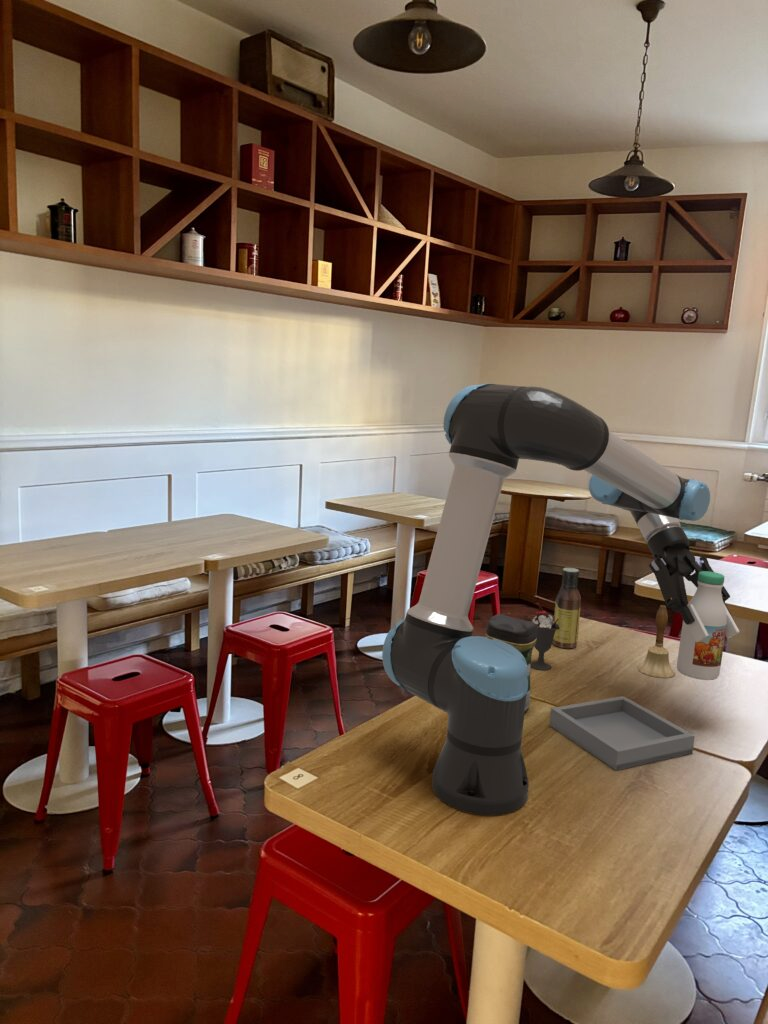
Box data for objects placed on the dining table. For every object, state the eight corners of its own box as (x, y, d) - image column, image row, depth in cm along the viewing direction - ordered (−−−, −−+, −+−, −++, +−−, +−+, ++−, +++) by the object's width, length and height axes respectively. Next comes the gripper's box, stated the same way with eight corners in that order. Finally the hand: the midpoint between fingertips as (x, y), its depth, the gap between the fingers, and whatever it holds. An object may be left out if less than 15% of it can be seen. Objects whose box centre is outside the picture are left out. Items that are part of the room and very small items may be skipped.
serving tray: (615, 770, 128) (618, 751, 127) (549, 725, 144) (551, 708, 143) (692, 753, 136) (694, 735, 135) (621, 712, 152) (623, 696, 151)
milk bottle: (673, 675, 144) (687, 573, 141) (678, 663, 151) (692, 566, 148) (717, 684, 141) (732, 581, 138) (720, 672, 148) (735, 573, 144)
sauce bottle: (561, 639, 194) (569, 564, 191) (582, 646, 190) (590, 570, 186) (545, 644, 190) (553, 567, 187) (566, 651, 185) (574, 573, 182)
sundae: (520, 661, 177) (526, 600, 174) (545, 660, 179) (551, 599, 176) (534, 672, 170) (540, 608, 168) (560, 670, 172) (566, 607, 170)
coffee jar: (473, 706, 151) (481, 616, 147) (491, 693, 157) (498, 608, 154) (518, 720, 145) (527, 628, 142) (534, 707, 152) (543, 618, 149)
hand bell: (659, 680, 170) (668, 613, 167) (629, 668, 177) (637, 602, 174) (682, 674, 174) (691, 608, 172) (652, 662, 181) (660, 598, 179)
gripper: (688, 543, 160) (741, 641, 149) (614, 546, 152) (665, 650, 140) (711, 523, 155) (769, 623, 143) (637, 525, 146) (692, 632, 134)
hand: (718, 636), depth 142 cm, fingers closed on milk bottle, 7 cm apart
